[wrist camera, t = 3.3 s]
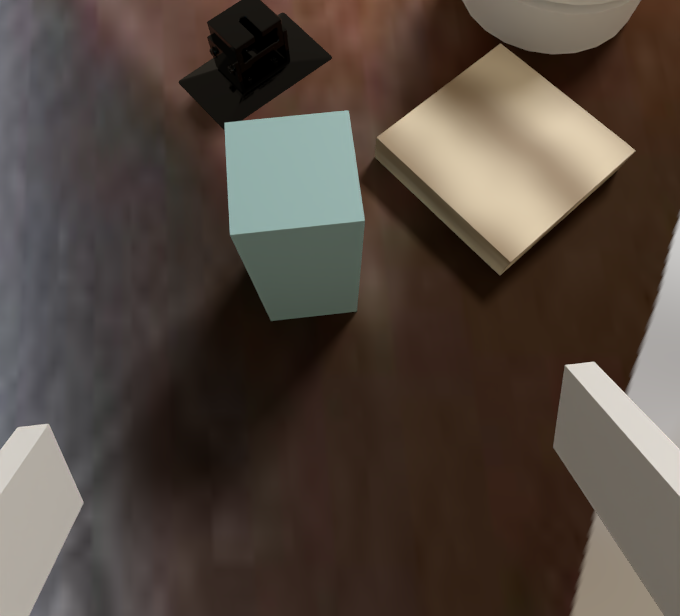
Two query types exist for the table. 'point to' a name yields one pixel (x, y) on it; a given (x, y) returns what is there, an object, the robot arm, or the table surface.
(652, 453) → the robot arm
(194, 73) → the black boxy piece
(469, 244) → the base slab
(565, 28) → the honey pot
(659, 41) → the table surface
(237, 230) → the pillar block
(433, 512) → the table surface
